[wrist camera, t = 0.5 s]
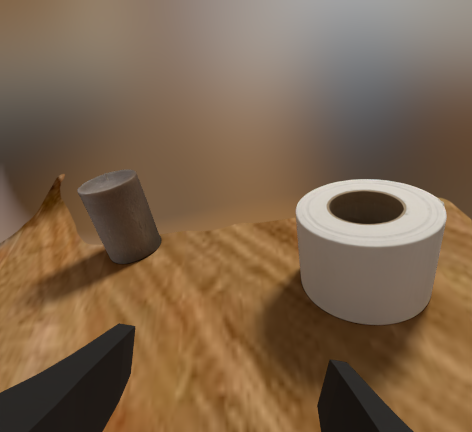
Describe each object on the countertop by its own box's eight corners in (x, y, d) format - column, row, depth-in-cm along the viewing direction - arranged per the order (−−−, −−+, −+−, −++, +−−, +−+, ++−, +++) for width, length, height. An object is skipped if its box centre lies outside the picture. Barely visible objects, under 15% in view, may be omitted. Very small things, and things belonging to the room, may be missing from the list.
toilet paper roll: (434, 253, 40) (446, 180, 35) (430, 345, 29) (447, 257, 24) (320, 237, 48) (316, 175, 43) (283, 304, 37) (273, 231, 32)
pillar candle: (169, 232, 58) (143, 159, 52) (147, 263, 50) (114, 181, 43) (125, 235, 61) (95, 166, 54) (98, 265, 53) (59, 188, 46)
